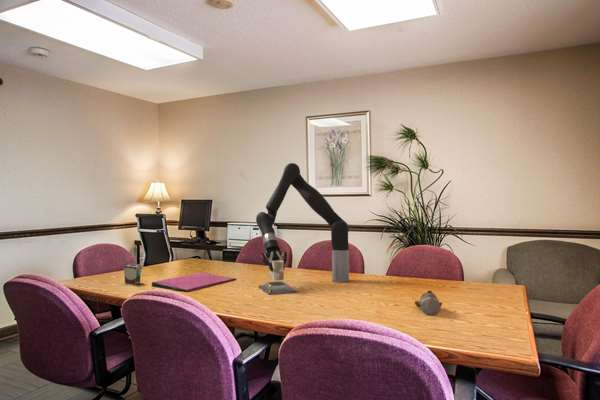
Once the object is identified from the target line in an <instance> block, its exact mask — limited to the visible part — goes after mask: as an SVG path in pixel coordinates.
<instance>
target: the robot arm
mask: <svg viewBox="0 0 600 400" xmlns="http://www.w3.org/2000/svg"><path fill="white" fill-rule="evenodd" d="M291 186H292V188H294V189H295V190H296V191H297V192H298V193H299V195H300V196H301V197H302V199H303V200H304V201H305V202H306V204H307V205H308V206H309V207H310V208H311V210H313V212H314V213H316V214H317V215H318V216H319V217H321V218H322V219H323V220H324V221H325V222H326V223H327V224H328V226H329V227H330V236H331V237H330V239H331V240H330V241H331V242H330V243H331V244H330V245H331V280H332V282H335V283H348V282H349V281H350V260H349V259H350V257H349V256H350V255H349V250H350V249H349V247H350V246H349V232H350V227H349V224H348V223H347V221H345V220H344V219H343V218H341V216H339V215H338V213H336V211H335V210H334V208H333V207H332V206H331V205H330V203H329V202H328V201H327V200H326V198H325V197H324V196H323V195H322V194H321V192H320V191H318V190H317V188H315V187H313V186H312V185H311V184H309V183H308V182H307V181H306V180H305V178H304V177H303V176H302V174H301V169H300V166H299V165H298V164H297V163H294V162H291V163H288V164H286V166H285V167H284V168H283V173H282V175H281V178H280V181H279V182H278V184H277V186H276V188H275V189H274V191H273V193H272V195H271V196H270V198H269V200H268V201H267V203H266V205H265V208H266V210H267V212H264V211H261V212H258V213H257V215H256V218H255V221H256V222H255V223H256V224H257V226H258V229H259V231H260V233H261V236H262V243H263V247H264V251H265V253H264V252H261V254H260V258H261V260H262V263H263V264H264V266H268V269H269V272H270V271H271V272H272V271H273V266H272V263H271V262H272V260H281V261H283V262H284V270H285V267H286V266H285V265H286V264H287V261H288V252H287V251H285V252H282V251H281V249H280V244H279V240H278V238H277V235H276V231H275V228H273V225H274V224H275V221H276V217H277V214H278V210H279V209H280V207H281V205H282V204H283V202H284V200H285V196H286V195H287V192H288V190H289V189H290V187H291ZM267 258H268V259H267Z"/></svg>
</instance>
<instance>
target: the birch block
mask: <svg viewBox="0 0 600 400" xmlns="http://www.w3.org/2000/svg"><path fill="white" fill-rule="evenodd" d="M271 263H272V266H273V271H272V272H271V271H270V270H269V279H270V280H272V281H273V282H275V281H284V279H285V278H284V275H285V274H284V272H285V271H284V270H285V269H284V266H285V264H284V262H283V261H281V260H272V262H271Z"/></svg>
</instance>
